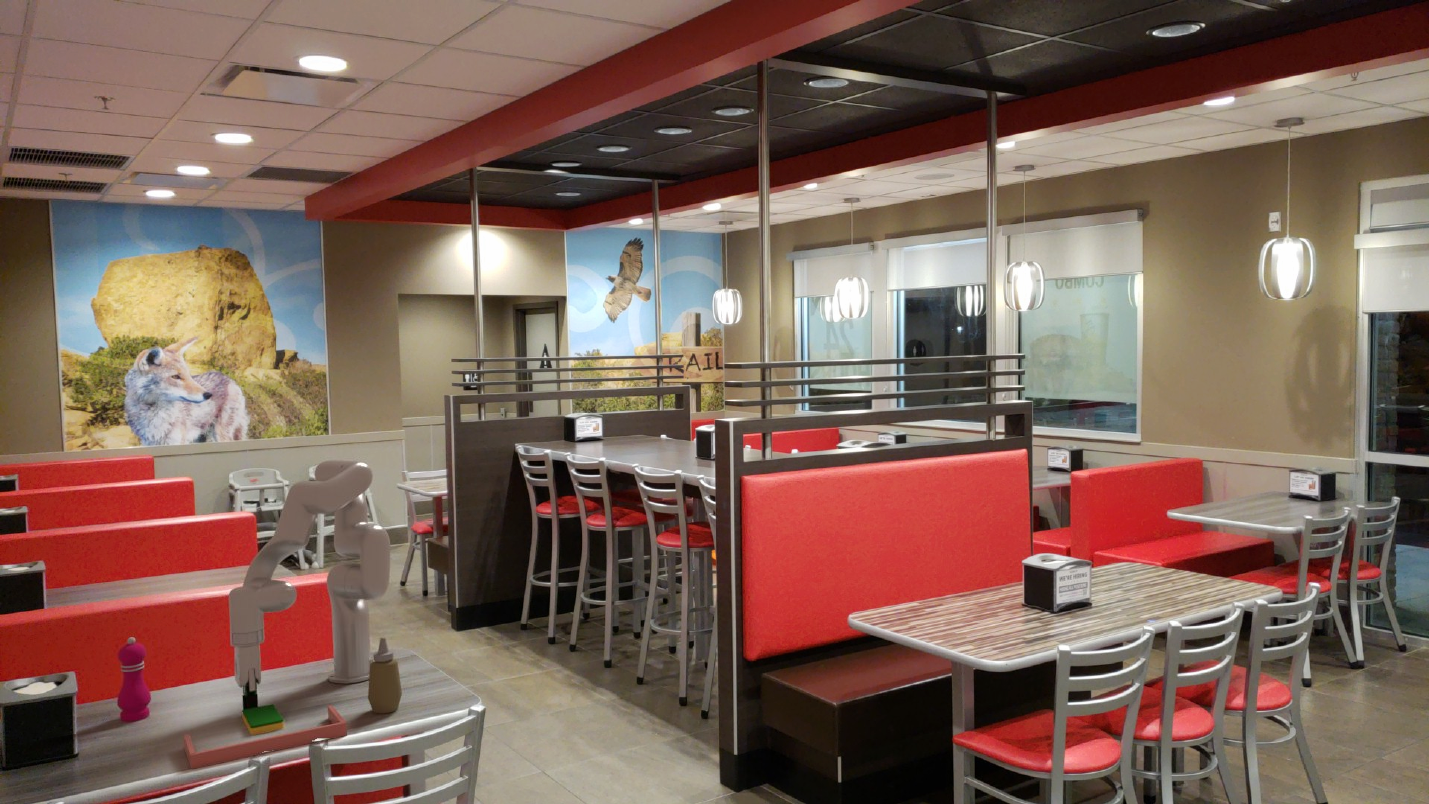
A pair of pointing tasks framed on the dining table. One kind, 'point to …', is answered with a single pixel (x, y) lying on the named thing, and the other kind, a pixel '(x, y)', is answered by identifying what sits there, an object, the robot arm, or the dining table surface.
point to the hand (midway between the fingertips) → (250, 710)
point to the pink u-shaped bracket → (265, 743)
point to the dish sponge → (262, 719)
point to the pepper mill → (133, 683)
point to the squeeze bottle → (384, 681)
